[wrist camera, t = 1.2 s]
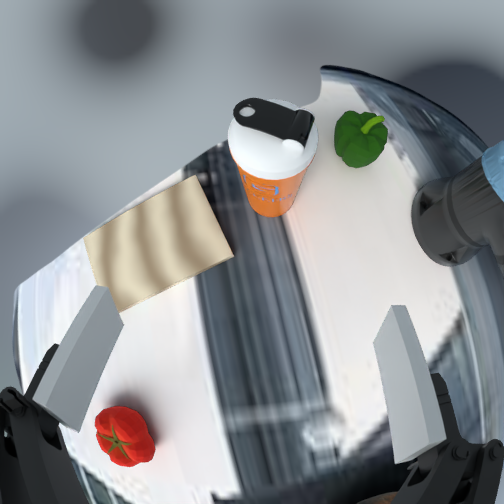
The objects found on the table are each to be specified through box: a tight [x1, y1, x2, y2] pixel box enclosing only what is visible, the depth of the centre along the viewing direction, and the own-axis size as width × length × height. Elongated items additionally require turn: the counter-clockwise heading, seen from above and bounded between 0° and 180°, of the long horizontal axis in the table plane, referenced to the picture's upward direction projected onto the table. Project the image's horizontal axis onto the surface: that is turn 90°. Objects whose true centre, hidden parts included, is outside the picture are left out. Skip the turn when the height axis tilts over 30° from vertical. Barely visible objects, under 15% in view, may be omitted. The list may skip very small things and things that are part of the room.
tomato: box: [95, 406, 155, 467], centre depth 34 cm, size 10×11×6 cm
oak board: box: [83, 175, 234, 313], centre depth 41 cm, size 22×14×2 cm, turn 116°
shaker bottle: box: [228, 98, 318, 217], centre depth 33 cm, size 9×9×20 cm
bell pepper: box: [334, 111, 388, 168], centre depth 38 cm, size 8×8×10 cm
